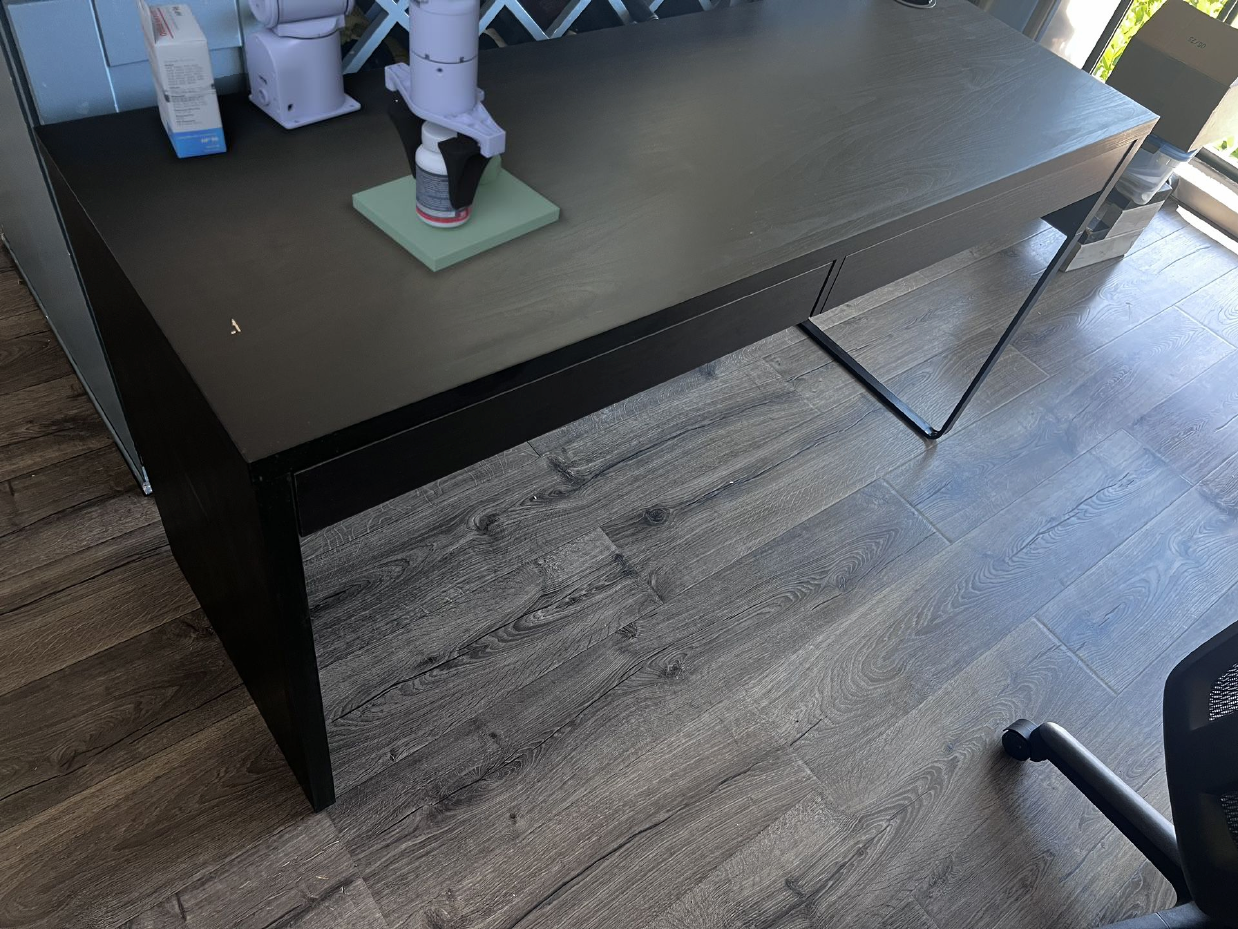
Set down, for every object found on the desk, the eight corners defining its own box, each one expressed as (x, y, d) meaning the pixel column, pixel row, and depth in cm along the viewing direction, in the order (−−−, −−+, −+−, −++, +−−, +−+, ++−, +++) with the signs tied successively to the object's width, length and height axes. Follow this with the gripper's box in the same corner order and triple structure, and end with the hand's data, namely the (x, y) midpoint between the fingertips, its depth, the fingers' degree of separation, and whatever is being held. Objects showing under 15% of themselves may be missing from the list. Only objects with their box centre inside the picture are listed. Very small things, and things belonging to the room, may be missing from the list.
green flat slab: (434, 272, 88) (434, 245, 86) (350, 204, 94) (348, 177, 92) (558, 220, 97) (561, 194, 95) (475, 161, 103) (476, 135, 101)
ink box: (229, 153, 97) (204, 6, 86) (178, 159, 95) (145, 10, 84) (209, 113, 102) (182, -31, 91) (159, 118, 99) (126, -28, 89)
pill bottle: (467, 232, 90) (469, 147, 83) (411, 225, 89) (410, 138, 83) (473, 202, 93) (476, 118, 87) (420, 195, 93) (419, 110, 86)
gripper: (536, 73, 79) (525, 214, 89) (428, 6, 85) (429, 145, 94) (470, 93, 75) (466, 238, 85) (362, 21, 81) (370, 164, 90)
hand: (442, 190), depth 89 cm, fingers closed on pill bottle, 5 cm apart
